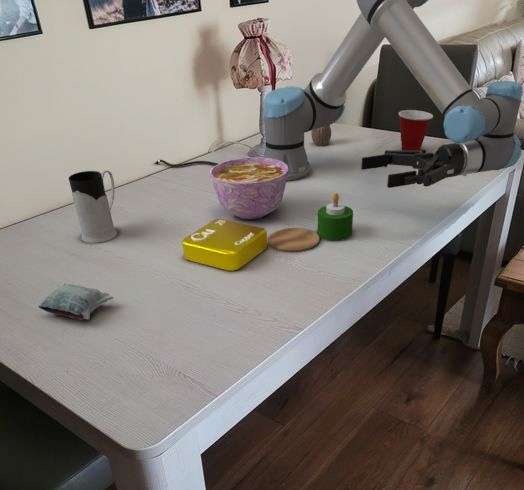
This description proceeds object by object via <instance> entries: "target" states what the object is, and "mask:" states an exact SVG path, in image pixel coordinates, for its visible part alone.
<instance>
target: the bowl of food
mask: <svg viewBox="0 0 524 490" xmlns="http://www.w3.org/2000/svg"><path fill="white" fill-rule="evenodd" d="M288 170H289V169H288V165H287V164H285V163H284V162H282V161H279V160H276V159H271V158H263V157H261V156H260V157H258V156H257V157H255V156H253V157H252V156H251V157H240V158H233V159H229V160H225V161H222V162H219V164H218V165H213V167H212V168H210V169H209V177H210V180H211V183H212V186H213V188H214V192H215V194H216V197H217V200H218V203H219V205H220V206H221V207H222V208H223V209H224V211H226V212H227V213H228V214H231V215H233V216H235V217H238V218H240V219H243V220H257V219H261V218H264V217H265V216H267V215H268V214H270V213H272V212H273V211H275V210H276V209H277V208H278V207H279V205H280V204H281V202H282V201H283V197H284V195H285V190H286V185H287V181H286V180H287V176H288Z"/></svg>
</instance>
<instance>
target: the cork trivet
mask: <svg viewBox="0 0 524 490" xmlns="http://www.w3.org/2000/svg"><path fill="white" fill-rule="evenodd" d="M319 243H320V237H319V236H318V234H317V232H315V231H313V230H310V229H308V228H307V229H306V228H302V227H301V228H300V227H290V228H284V229H280V230H277V231H274V232H273V233H272V234H270V236H269V237H268V244H269V245H270V246H271V247H272V248H273V249H274V250H278V251H282V252H287V253H288V252H289V253H296V252H305V251H308V250H311V249H313V248H315V247H316V246H317V245H319Z"/></svg>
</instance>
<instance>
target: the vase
mask: <svg viewBox="0 0 524 490" xmlns="http://www.w3.org/2000/svg"><path fill="white" fill-rule="evenodd" d="M310 132H311V133H310V134H311V140H312V142H313V144H314V145H315V146H319V147H323V146H324V147H325V146H327V145H328V144H329V143H330V141H331V139H332V127H331V124H330V125H329V126H326V127H321V128H318V129H315V130H311V131H310Z"/></svg>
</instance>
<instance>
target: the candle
mask: <svg viewBox="0 0 524 490" xmlns="http://www.w3.org/2000/svg"><path fill="white" fill-rule="evenodd" d="M339 200H340V195H339V194H338V193H337V192H334V193H333V195H332V202H331V203H328V204H326V205H324V206H321V207H320V208H319V209H318V210H317V232H316V233H317V234H318V236H319V239H321V240H325V241H329V242H330V241H331V242H340V241H344V240H347V239H349V238H351V237H352V235H353V220H354V210H353V209H352V207H349V206H346V205H345V204H344V203H340V202H339Z"/></svg>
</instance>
